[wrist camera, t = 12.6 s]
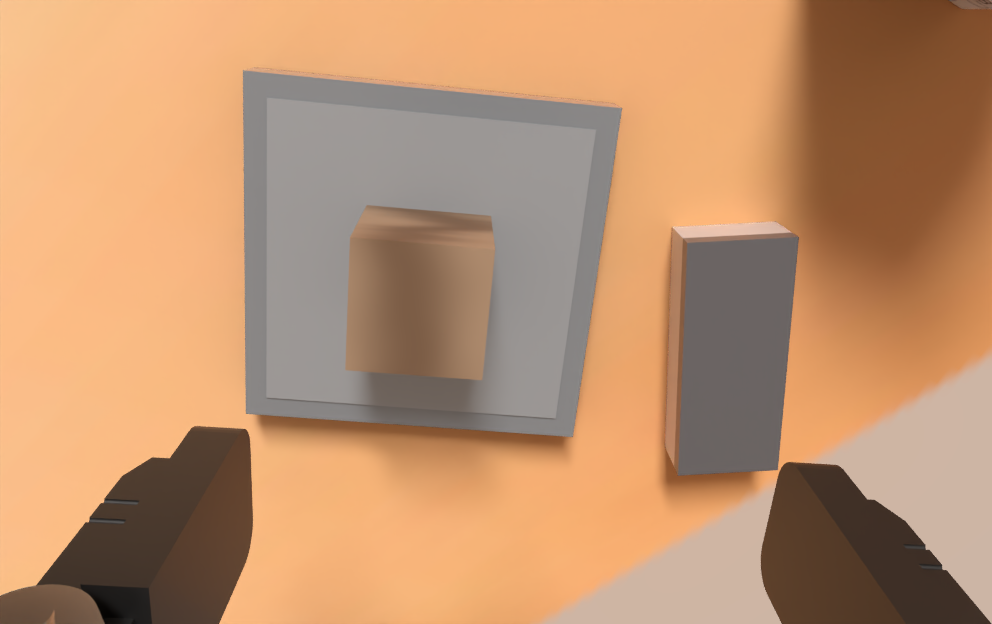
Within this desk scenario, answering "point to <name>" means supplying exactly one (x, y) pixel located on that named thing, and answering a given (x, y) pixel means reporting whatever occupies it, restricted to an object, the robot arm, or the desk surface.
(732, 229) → the felt board eraser
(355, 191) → the slate platform
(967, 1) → the coffee box
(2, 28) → the desk surface
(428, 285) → the walnut cube
